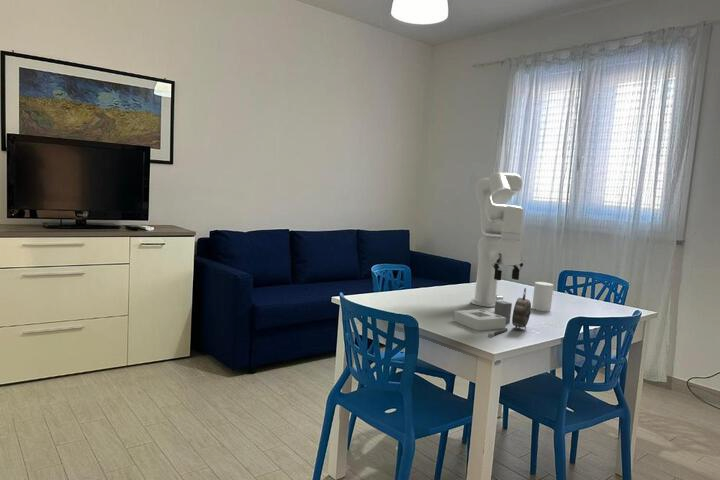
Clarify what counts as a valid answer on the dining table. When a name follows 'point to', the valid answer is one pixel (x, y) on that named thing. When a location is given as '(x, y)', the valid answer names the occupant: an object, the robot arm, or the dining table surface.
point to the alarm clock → (521, 312)
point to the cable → (496, 332)
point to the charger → (503, 309)
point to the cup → (542, 296)
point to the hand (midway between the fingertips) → (506, 279)
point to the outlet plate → (479, 319)
